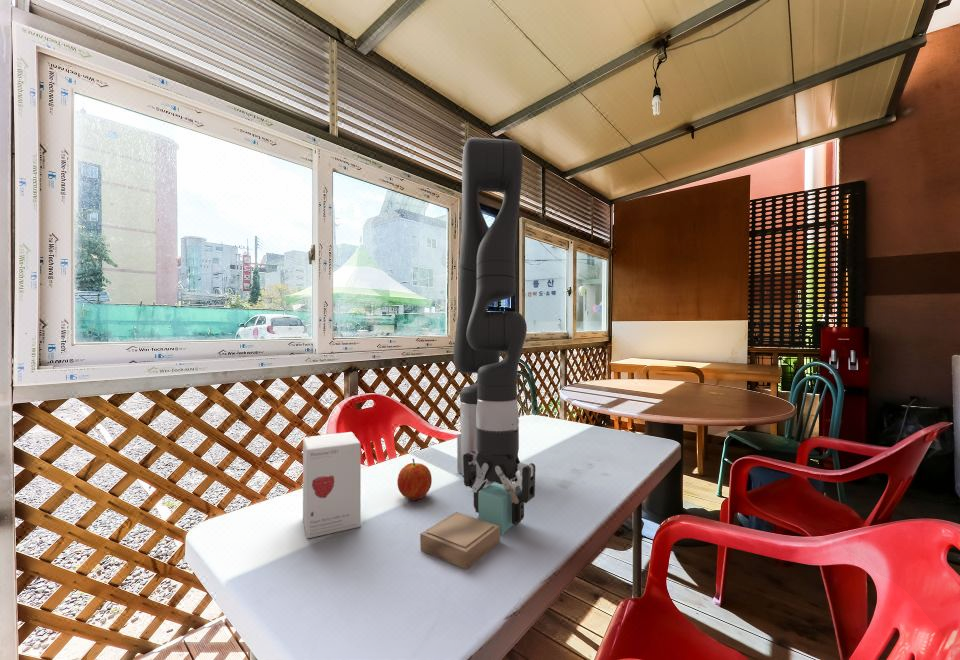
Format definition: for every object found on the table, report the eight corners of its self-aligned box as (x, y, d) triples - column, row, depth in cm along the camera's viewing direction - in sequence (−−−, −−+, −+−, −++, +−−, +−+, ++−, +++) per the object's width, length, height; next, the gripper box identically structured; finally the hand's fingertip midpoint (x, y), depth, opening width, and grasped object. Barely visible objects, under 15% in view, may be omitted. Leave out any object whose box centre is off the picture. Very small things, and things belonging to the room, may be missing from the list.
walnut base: (420, 549, 62) (420, 532, 62) (456, 526, 69) (456, 510, 69) (466, 569, 57) (466, 550, 57) (499, 541, 64) (499, 524, 64)
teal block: (478, 525, 70) (478, 491, 70) (494, 514, 74) (493, 482, 74) (502, 533, 67) (502, 498, 67) (517, 521, 71) (517, 488, 71)
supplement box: (305, 540, 65) (304, 449, 65) (302, 517, 73) (301, 436, 73) (362, 527, 69) (361, 441, 69) (353, 507, 77) (352, 430, 77)
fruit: (438, 497, 81) (438, 458, 81) (411, 508, 76) (411, 467, 76) (417, 488, 86) (417, 451, 86) (390, 498, 81) (390, 459, 81)
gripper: (452, 422, 71) (453, 514, 71) (522, 434, 63) (523, 538, 63) (476, 415, 77) (477, 500, 77) (543, 425, 69) (544, 519, 69)
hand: (498, 516), depth 70 cm, fingers open, 7 cm apart
